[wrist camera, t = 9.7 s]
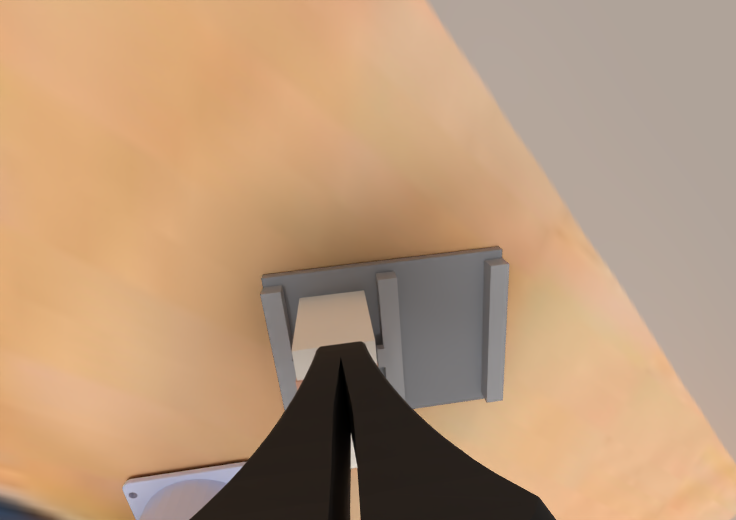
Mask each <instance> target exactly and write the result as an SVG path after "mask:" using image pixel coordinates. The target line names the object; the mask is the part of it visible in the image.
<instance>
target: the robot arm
mask: <svg viewBox="0 0 736 520" xmlns="http://www.w3.org/2000/svg"><path fill="white" fill-rule="evenodd" d="M351 435H352V441H353V446H354V451H355V457H356V462H357V468H358V483H359V498H360V514H361V520H556V519H555V518H554V516H553V515H552V514H551V512H550V511H549V510H548V508H547V507H546V506H545V504H544V503H543V502H542V500H541V499H540V498H539V497H538V496H536V495H534V494H532V493H531V492H529V491H527V490H525V489H523V488H521V487H520V486H518V485H516V484H514V483H512V482H510V481H509V480H507V479H505V478H503V477H501V476H499V475H498V474H496V473H494V472H493V471H491V470H489V469H488V468H486V467H485V466H483V465H481V464H480V463H478V462H477V461H475V460H474V459H472V458H471V457H470V456H468V455H467V454H466V453H464V452H463V451H462V450H460V449H459V448H458V447H456V446H455V445H454V444H452V443H451V442H450V441H448V440H447V439H445V438H444V437H443V436H442V435H441V434H439V433H438V432H437V431H436V430H435V429H434V428H432V427H431V426H430V425H429V424H428V423H427V422H426V421H425V420H424V419H422V418H421V417H420V416H419V415H418V414H417V413H416V412H415V411H414V410H413V409H412V408H411V407H410V406H409V405H408V404H407V403H406V401H405V400H404V399H403V398H402V397H401V396H400V395H399V394H398V392H397V391H396V390H395V389H394V388H393V386H392V385H391V384H390V383H389V381H388V380H387V379H386V377H385V376H384V375H383V373H382V372H381V371H380V369H379V368H378V366H377V365H376V363H375V362H374V360H373V359H372V357H371V355H370V353H369V351H368V349H367V347H366V344H365V343H363V342H362V341H358V342H351V343H343V344H336V345H328V346H321V347H319V348H318V349H317V350H316V353H315V356H314V358H313V361H312V363H311V365H310V367H309V369H308V371H307V373H306V376H305V377H304V379H303V381H302V383H301V385H300V387H299V389H298V390H297V392H296V394H295V396H294V397H293V399H292V401H291V402H290V404H289V405H288V407H287V409H286V410H285V412H284V413H283V415H282V416H281V418H280V420H279V421H278V422H277V424H276V425H275V427H274V428H273V429H272V431H271V432H270V434H269V435H268V436H267V438H266V439H265V440H264V441H263V443H262V444H261V445H260V447H259V448H258V449H257V450H256V451H255V453H254V454H253V455H252V456H251V457H250V458H249V460H248V461H247V462H240V463H233V464H226V465H220V466H213V467H207V468H200V469H193V470H187V471H180V472H174V473H167V474H160V475H154V476H147V477H141V478H134V479H129V480H127V481H126V482H125V484H124V485H123V488H122V489H123V492H124V494H125V497H126V499H127V501H128V503H129V506H130V508H131V510H132V512H133V515H134V517H135V519H136V520H350V478H351Z"/></svg>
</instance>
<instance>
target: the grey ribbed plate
mask: <svg viewBox="0 0 736 520" xmlns="http://www.w3.org/2000/svg"><path fill="white" fill-rule="evenodd" d="M261 280H262V285H263V289H262V291H261V294H260V296H261V301H262V305H263V310H264V315H265V319H266V324H267V329H268V334H269V338H270V343H271V348H272V353H273V357H274V362H275V367H276V371H277V376H278V381H279V386H280V390H281V395H282V400H283V405H284V409H285V410H286V409H287V407H288V405H289V404H290V402H291V401H292V399H293V397H294V396H295V394H296V392H297V387H296V373H295V367H294V362H293V356H292V345H293V338H294V332H295V325H296V318H297V312H298V305H299V298H304V297H313V296H321V295H329V294H337V293H346V292H354V291H362V290H364V292H365V297H366V302H367V306H368V311H369V315H370V320H371V324H372V329H373V333H374V338H375V346H376V357H377V363H378V368H379V369H380V371H381V372H382V373H383V375H384V376H385V377H386V379H387V380H388V381H389V383H390V384H391V385H392V386H393V388H394V389H395V390H396V391H397V392H398V394H399V395H400V396H401V397H402V398H403V399H404V400H405V401H406V403H407V404H408V405H409V406H410V407H411V408H412V409H416V408H422V407H429V406H436V405H443V404H450V403H456V402H463V401H470V400H477V399H484V398H485V400H486V402H494V401H501V400H503V384H504V363H505V342H506V322H507V301H508V280H509V263H508V262H506V261H505V260H504V259H503V258H502V249H501V248H500V247H490V248H482V249H473V250H465V251H457V252H449V253H440V254H432V255H424V256H415V257H407V258H399V259H390V260H382V261H374V262H365V263H357V264H349V265H340V266H332V267H324V268H315V269H307V270H299V271H290V272H282V273H274V274H266V275H262V278H261Z"/></svg>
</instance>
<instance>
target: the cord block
mask: <svg viewBox="0 0 736 520" xmlns="http://www.w3.org/2000/svg"><path fill="white" fill-rule="evenodd" d="M358 341H362V342H363V343H365V344H366V347H367V349H368V351H369V353H370V355H371V357H372V359H373V360H374V362H375V363H376V365H377V366H378V363H377V357H376V346H375V338H374V333H373V329H372V324H371V320H370V315H369V311H368V306H367V302H366V297H365V292H364V290H362V291H354V292H346V293H337V294H329V295H321V296H313V297H304V298H299V305H298V312H297V318H296V325H295V332H294V338H293V345H292V356H293V362H294V367H295V373H296V387H297V390H298V389H299V387H300V385H301V383H302V381H303V379H304V377H305V376H306V373H307V371H308V369H309V367H310V365H311V363H312V361H313V358H314V356H315V353H316V350H317V349H318V348H319V347H321V346H328V345H336V344H343V343H351V342H358ZM352 468H357V462H356V457H355V451H354V446H353V441H352V435H351V469H352Z"/></svg>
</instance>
